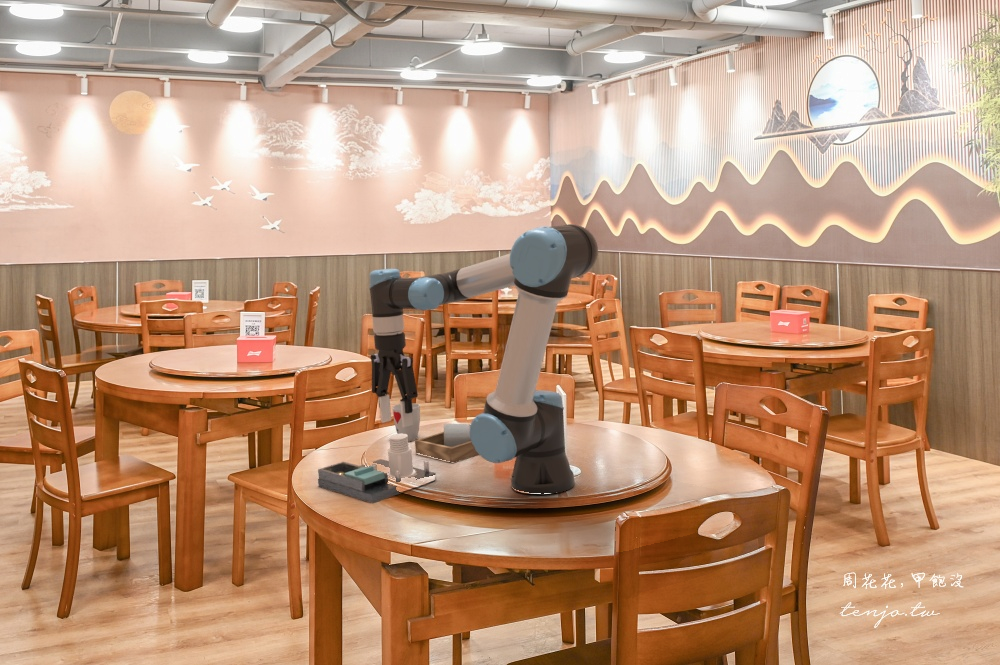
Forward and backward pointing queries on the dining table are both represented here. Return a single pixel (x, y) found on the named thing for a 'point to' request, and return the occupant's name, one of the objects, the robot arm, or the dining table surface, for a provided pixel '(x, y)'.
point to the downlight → (400, 456)
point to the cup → (412, 429)
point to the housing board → (356, 488)
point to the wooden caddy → (444, 448)
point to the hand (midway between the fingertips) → (396, 423)
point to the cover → (366, 474)
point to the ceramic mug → (456, 434)
